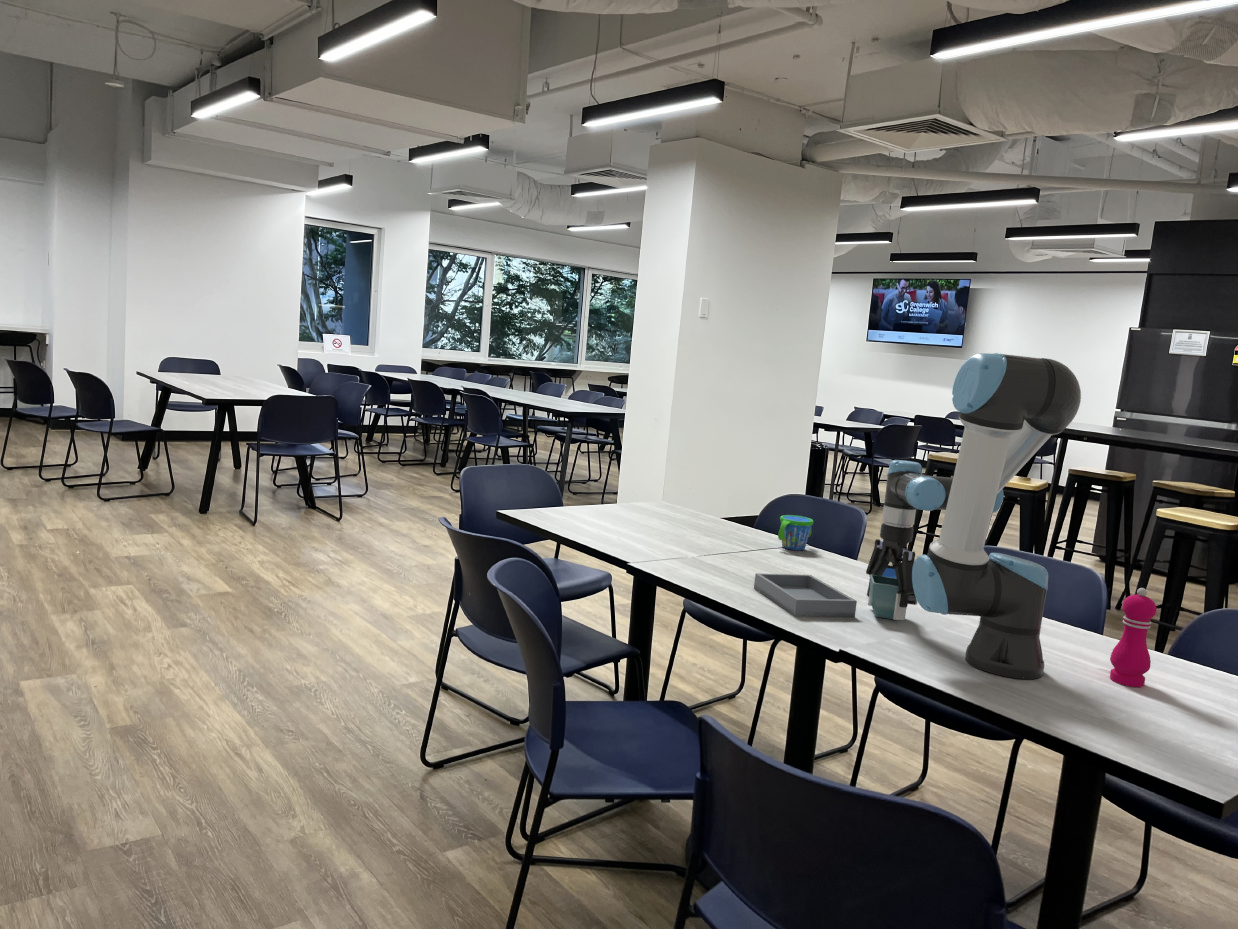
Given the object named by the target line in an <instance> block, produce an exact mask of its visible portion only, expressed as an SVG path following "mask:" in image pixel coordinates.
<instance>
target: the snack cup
mask: <svg viewBox="0 0 1238 929" xmlns="http://www.w3.org/2000/svg"><path fill="white" fill-rule="evenodd" d="M779 521H780V525H779V526H780V527H779V530H778V534H777V538H778V540H780V541H781V547H783V548H784V549H786V550H790V549H791V550H792V551H803V550H805V549H806V546H807V543H808V540H809V538H810V537H811V535H812V526H813V525H814V520H813V519H812V518H810V517H806V516H802V515H795V514H794V515H793V514H786V515H781V516H780V517H779ZM791 550H790V551H791Z"/></svg>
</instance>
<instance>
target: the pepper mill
mask: <svg viewBox="0 0 1238 929" xmlns="http://www.w3.org/2000/svg"><path fill="white" fill-rule="evenodd" d="M1147 594H1148V591H1147V589H1146V588H1144V587H1140V588H1138V589H1137V591H1136V594H1131V595H1129V596H1127V597H1126V598H1125V599H1124V600H1123V601H1122V607H1121V608H1122V611H1123V612H1124V614H1125V615H1123V616H1122V618H1123V620H1122V624H1124V627H1123V632H1122V635H1121V638H1120V640H1119V641H1118V642H1117V644H1116V645H1115V647H1114V648H1113V649H1112V651H1111V653H1110V657H1109V660H1110V663H1111V666H1113V668H1112V669H1110V672H1109V673H1110V675H1109V679H1110V680H1111V681H1112V682H1114V683H1116V684H1120V685H1123V686H1127V687H1132V688H1143V687H1144V686H1145V684H1146V683H1145V682H1146V677H1145V676H1144V674H1146V673H1148V672H1149V671H1150V669H1151V655H1150V652H1149V649H1148V645H1147V635H1148V630H1149V629H1151V625H1152V621H1151V619H1153V618H1154V617H1155V616H1156V613H1157V605H1156V602H1155V601H1154V600H1153V599H1152V598H1150V597H1149V596H1147Z"/></svg>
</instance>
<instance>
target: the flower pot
mask: <svg viewBox="0 0 1238 929" xmlns="http://www.w3.org/2000/svg"><path fill="white" fill-rule="evenodd" d="M869 580H870V600H871V604H872V606H871V607H872V610H873V614H874V616H875V617H877V618H881V619H889V620H894V619H893V616H894V609H895V602H896V594H897V592H898V591H899V587H898V582H897V578H891V577H884V576H878V575H869ZM903 589H904V587H903Z"/></svg>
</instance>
